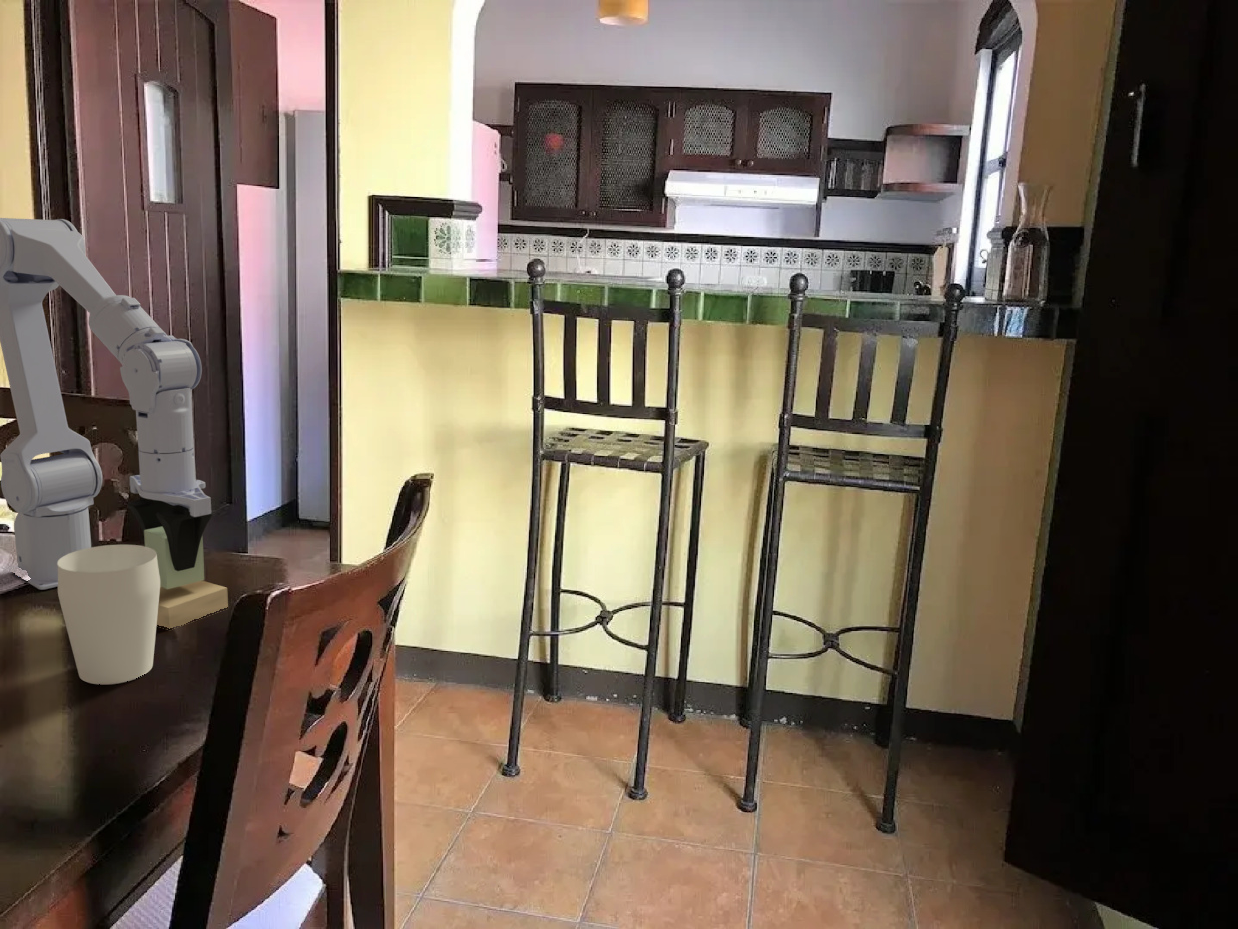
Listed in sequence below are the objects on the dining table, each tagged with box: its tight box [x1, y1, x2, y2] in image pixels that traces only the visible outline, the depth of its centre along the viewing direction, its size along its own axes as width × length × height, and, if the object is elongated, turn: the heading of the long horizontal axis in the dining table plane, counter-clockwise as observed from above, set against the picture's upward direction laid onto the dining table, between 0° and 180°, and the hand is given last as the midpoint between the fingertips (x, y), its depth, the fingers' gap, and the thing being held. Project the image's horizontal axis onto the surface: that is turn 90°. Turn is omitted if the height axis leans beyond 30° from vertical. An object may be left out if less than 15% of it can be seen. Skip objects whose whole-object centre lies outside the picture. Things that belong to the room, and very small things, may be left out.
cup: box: [57, 544, 160, 686], centre depth 98 cm, size 9×9×12 cm
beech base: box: [157, 580, 229, 629], centre depth 115 cm, size 8×8×3 cm
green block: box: [143, 526, 205, 589], centre depth 114 cm, size 4×4×6 cm
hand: (173, 563), depth 114 cm, fingers closed on green block, 4 cm apart
